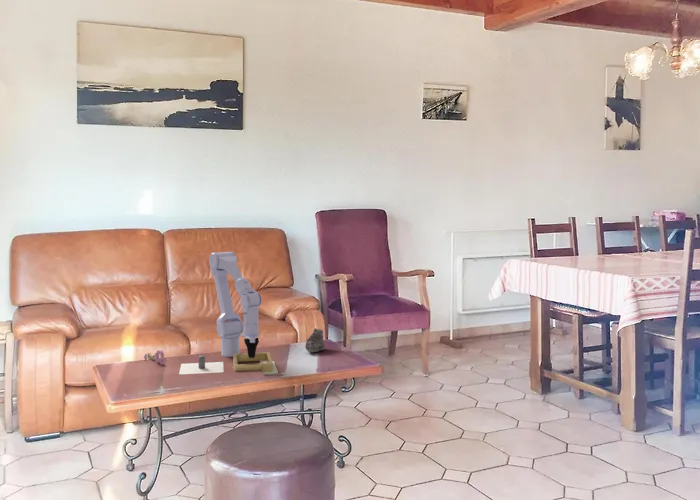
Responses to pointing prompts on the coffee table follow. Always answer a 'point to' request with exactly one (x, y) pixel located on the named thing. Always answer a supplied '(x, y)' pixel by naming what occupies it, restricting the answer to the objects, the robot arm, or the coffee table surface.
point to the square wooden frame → (258, 357)
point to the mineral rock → (315, 341)
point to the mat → (270, 371)
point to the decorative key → (156, 357)
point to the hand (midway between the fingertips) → (251, 357)
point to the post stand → (201, 367)
